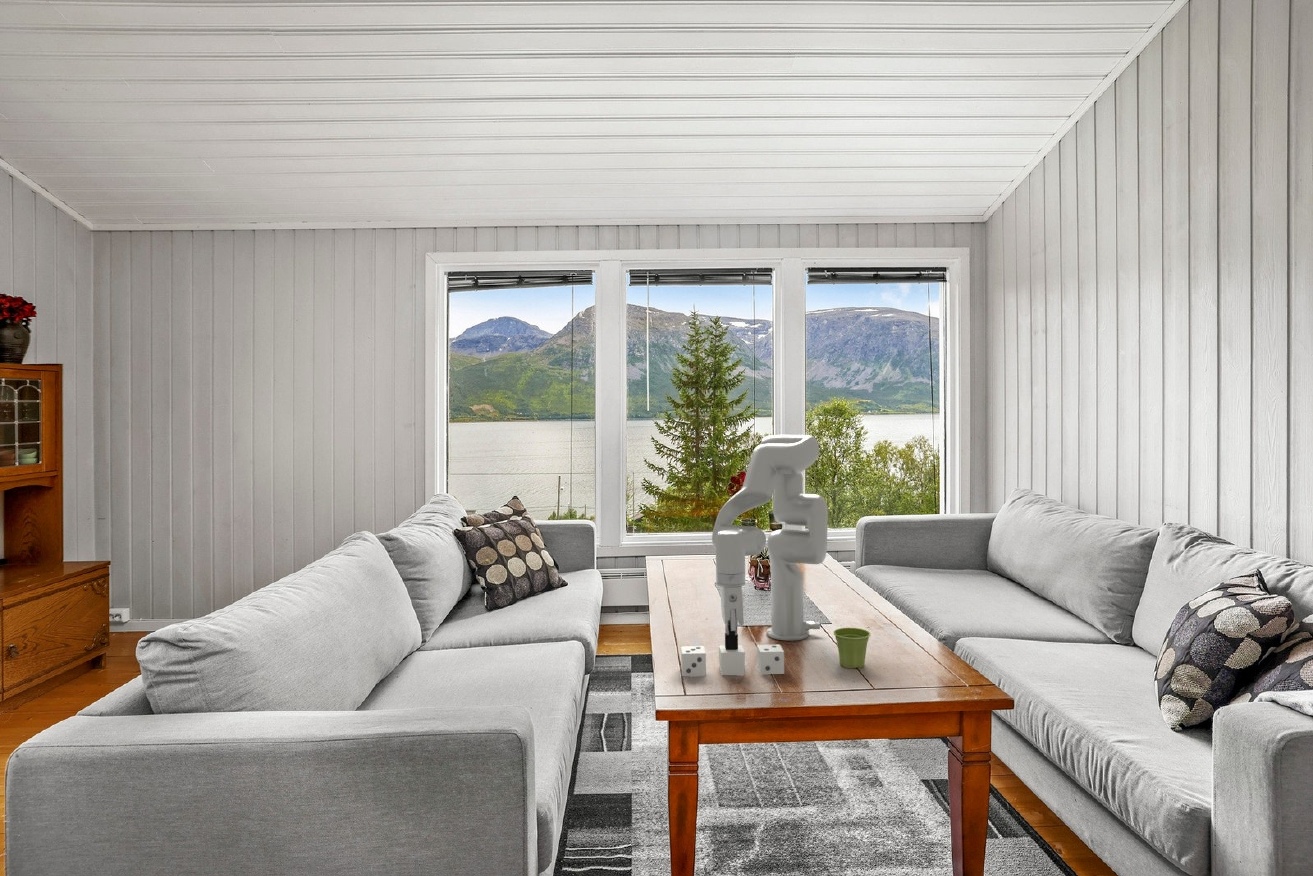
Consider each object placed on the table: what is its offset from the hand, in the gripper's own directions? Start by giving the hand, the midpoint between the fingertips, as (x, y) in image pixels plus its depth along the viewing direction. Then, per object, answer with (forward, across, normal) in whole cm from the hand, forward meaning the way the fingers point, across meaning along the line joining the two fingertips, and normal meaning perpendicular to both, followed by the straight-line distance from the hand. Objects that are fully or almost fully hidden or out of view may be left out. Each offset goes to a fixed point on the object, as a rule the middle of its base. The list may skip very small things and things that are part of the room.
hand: (731, 648), depth 201 cm
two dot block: (+6, 0, -10) cm, 12 cm away
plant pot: (+6, +3, -32) cm, 33 cm away
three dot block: (+6, 0, +10) cm, 12 cm away
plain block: (+6, 0, 0) cm, 6 cm away
